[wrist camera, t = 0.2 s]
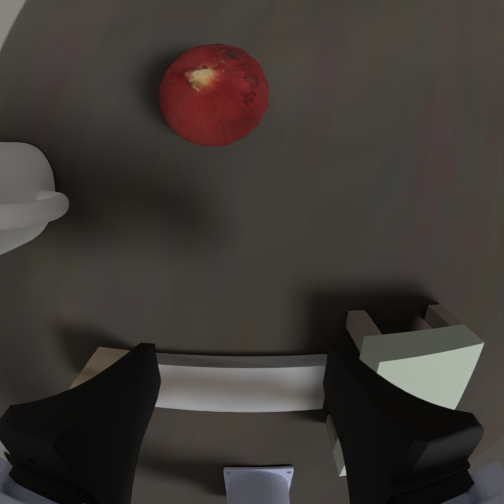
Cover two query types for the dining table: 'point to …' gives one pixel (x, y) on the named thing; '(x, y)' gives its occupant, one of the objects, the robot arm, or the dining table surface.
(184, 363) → the beige piece
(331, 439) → the green top stand
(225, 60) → the pomegranate
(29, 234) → the mug
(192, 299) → the dining table surface
